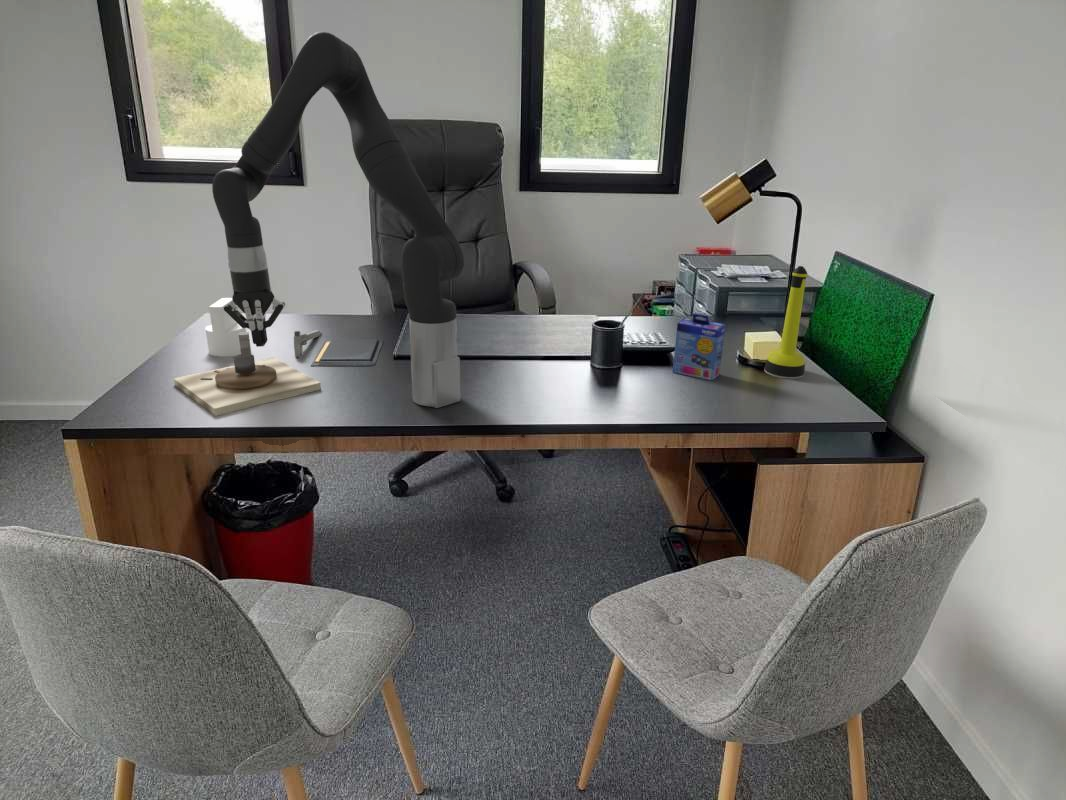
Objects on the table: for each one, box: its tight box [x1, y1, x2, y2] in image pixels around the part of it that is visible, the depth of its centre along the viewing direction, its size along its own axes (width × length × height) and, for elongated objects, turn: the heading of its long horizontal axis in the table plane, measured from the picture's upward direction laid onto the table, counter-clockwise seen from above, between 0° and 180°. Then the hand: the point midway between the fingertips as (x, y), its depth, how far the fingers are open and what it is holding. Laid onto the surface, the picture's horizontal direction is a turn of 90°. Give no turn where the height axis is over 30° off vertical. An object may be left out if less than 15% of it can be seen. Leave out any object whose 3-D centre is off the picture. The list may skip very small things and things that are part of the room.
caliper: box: [293, 329, 322, 358], centre depth 179 cm, size 21×1×6 cm, turn 1°
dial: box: [215, 331, 277, 389], centre depth 152 cm, size 17×12×7 cm
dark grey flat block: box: [310, 338, 384, 368], centre depth 174 cm, size 20×2×15 cm
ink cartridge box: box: [672, 312, 726, 381], centre depth 163 cm, size 10×6×14 cm, turn 59°
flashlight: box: [763, 265, 808, 380], centre depth 164 cm, size 25×9×9 cm
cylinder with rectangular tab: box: [204, 297, 247, 358], centre depth 172 cm, size 9×9×12 cm
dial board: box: [173, 357, 322, 417], centre depth 151 cm, size 22×22×2 cm
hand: (260, 345), depth 158 cm, fingers closed
